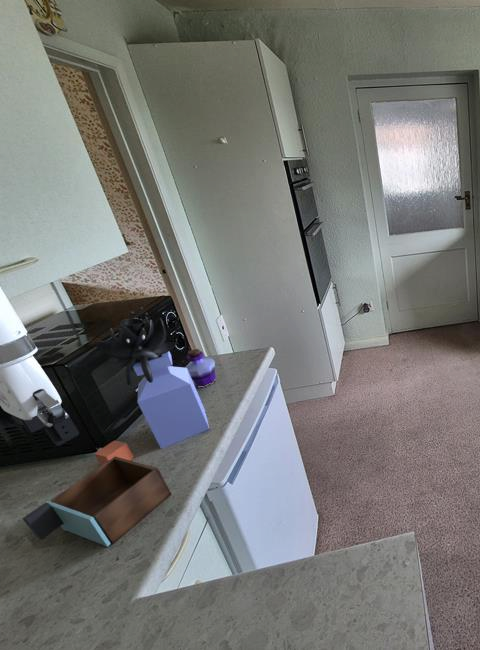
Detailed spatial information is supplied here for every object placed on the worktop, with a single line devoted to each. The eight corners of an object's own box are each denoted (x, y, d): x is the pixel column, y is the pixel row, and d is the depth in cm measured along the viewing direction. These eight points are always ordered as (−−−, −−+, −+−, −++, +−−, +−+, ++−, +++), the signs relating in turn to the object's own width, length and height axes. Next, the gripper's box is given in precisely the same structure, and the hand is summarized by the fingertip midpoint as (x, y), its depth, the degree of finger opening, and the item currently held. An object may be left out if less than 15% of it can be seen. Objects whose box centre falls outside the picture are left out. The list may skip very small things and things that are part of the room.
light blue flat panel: (86, 565, 69) (64, 535, 65) (40, 545, 73) (18, 516, 70) (110, 543, 72) (91, 514, 69) (66, 526, 76) (46, 498, 73)
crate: (113, 544, 73) (95, 516, 69) (69, 526, 77) (50, 500, 74) (171, 494, 82) (158, 468, 79) (129, 481, 87) (115, 456, 84)
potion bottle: (184, 389, 121) (170, 356, 116) (208, 374, 128) (195, 342, 123) (204, 392, 118) (190, 359, 113) (227, 377, 125) (215, 345, 120)
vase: (146, 458, 93) (78, 331, 79) (147, 433, 102) (85, 315, 88) (212, 430, 101) (161, 310, 87) (207, 410, 109) (160, 297, 95)
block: (102, 467, 91) (93, 453, 90) (122, 454, 95) (114, 440, 93) (114, 471, 90) (106, 457, 88) (134, 457, 94) (126, 443, 92)
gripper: (-54, 355, 62) (4, 436, 69) (-9, 372, 55) (51, 460, 62) (8, 334, 68) (56, 411, 75) (57, 347, 62) (104, 430, 68)
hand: (54, 433), depth 69 cm, fingers open, 9 cm apart
